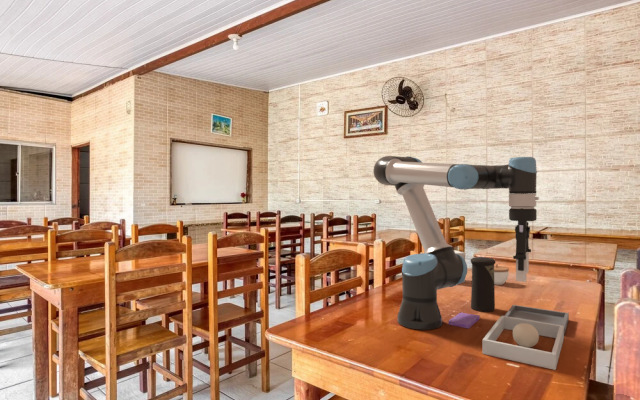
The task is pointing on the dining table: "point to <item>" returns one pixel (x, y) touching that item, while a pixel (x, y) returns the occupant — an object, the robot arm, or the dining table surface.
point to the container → (483, 284)
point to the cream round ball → (525, 335)
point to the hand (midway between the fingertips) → (522, 276)
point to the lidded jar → (500, 274)
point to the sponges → (464, 320)
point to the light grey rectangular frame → (524, 353)
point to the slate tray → (539, 315)
